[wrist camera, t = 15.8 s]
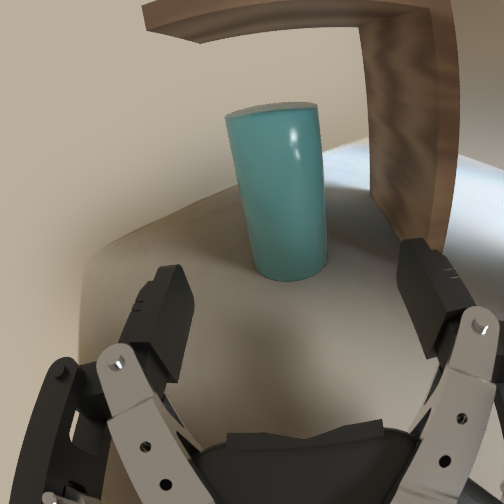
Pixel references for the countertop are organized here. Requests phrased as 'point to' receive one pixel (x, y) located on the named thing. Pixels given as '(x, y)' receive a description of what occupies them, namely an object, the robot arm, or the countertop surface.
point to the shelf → (369, 88)
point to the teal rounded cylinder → (281, 187)
